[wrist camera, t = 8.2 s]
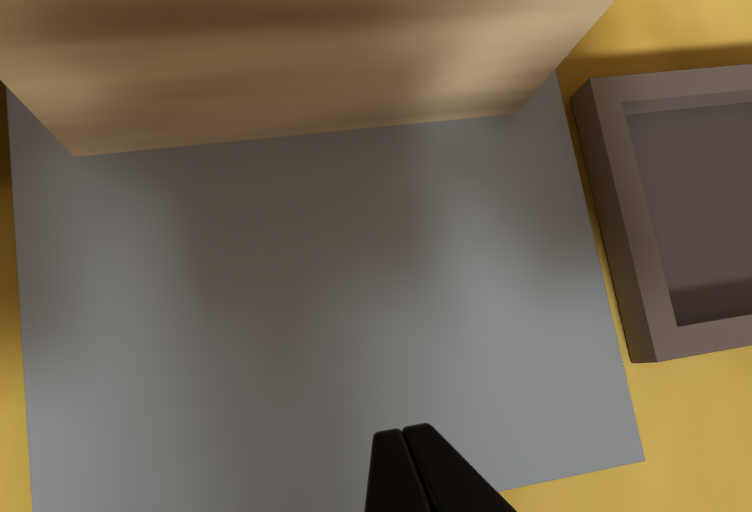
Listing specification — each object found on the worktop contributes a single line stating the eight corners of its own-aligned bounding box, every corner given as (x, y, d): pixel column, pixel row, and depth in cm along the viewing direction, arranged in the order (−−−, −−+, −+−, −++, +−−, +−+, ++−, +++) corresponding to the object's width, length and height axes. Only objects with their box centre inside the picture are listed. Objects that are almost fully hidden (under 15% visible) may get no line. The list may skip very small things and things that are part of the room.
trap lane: (897, 404, 18) (1015, 409, 15) (-400, 675, 12) (-609, 765, 10) (687, -292, 22) (747, -393, 19) (-350, -317, 17) (-483, -462, 14)
